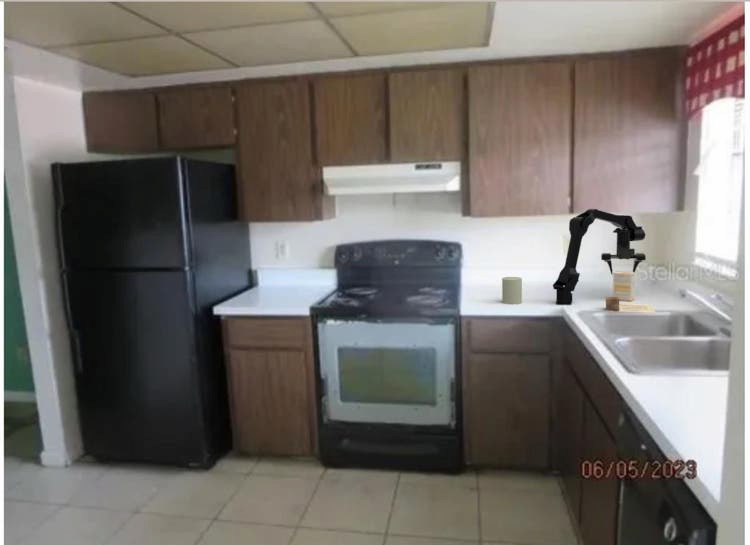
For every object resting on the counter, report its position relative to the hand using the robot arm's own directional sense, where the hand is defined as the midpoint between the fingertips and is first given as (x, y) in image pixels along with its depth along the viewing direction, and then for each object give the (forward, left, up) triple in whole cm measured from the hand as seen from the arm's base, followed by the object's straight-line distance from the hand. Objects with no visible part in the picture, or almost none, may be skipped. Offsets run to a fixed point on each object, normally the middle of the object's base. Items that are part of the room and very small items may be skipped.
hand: (622, 274), depth 252 cm
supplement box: (0, -9, -11) cm, 14 cm away
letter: (+3, -27, -10) cm, 29 cm away
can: (-49, -22, -11) cm, 55 cm away
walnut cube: (-6, -31, -10) cm, 33 cm away
